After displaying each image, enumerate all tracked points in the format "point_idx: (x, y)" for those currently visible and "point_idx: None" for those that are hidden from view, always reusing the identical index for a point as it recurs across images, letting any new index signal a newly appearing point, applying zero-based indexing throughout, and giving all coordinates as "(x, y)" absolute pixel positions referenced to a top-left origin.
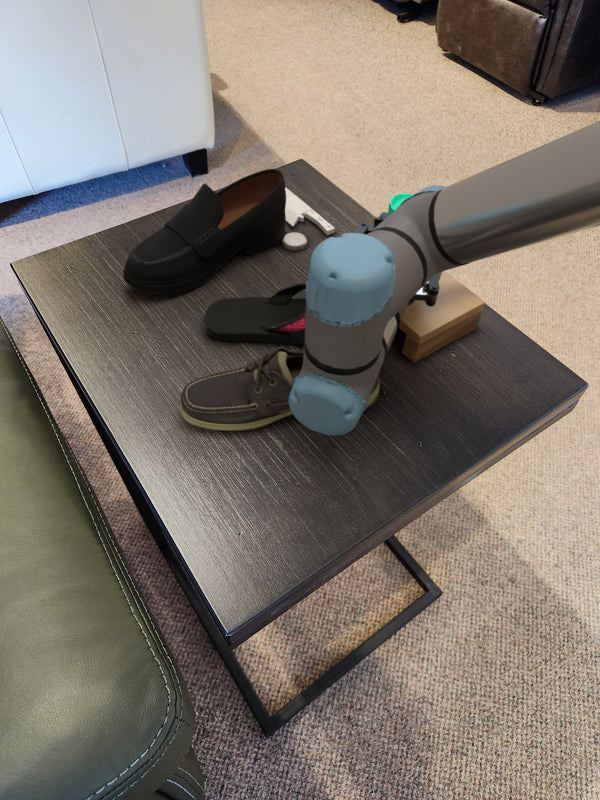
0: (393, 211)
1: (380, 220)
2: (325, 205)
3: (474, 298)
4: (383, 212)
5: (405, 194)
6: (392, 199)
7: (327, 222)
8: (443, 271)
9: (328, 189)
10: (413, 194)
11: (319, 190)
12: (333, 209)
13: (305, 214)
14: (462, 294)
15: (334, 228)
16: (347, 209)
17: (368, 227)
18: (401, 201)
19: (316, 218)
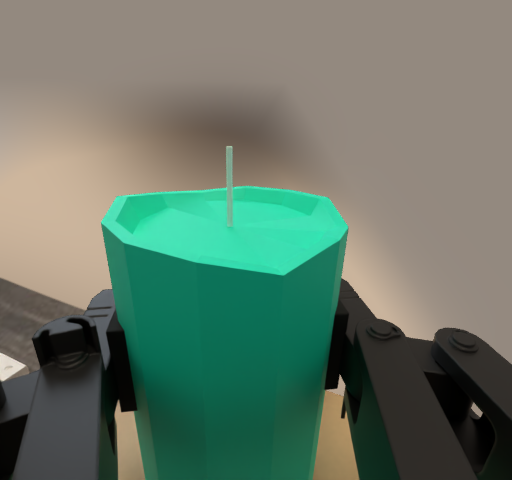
0: (135, 253)
1: (74, 333)
2: (16, 322)
3: None
4: (104, 291)
5: (173, 193)
6: (116, 208)
7: (7, 358)
8: (340, 399)
9: (27, 293)
10: (204, 190)
11: (8, 299)
12: (33, 324)
13: None
14: None
15: (24, 367)
16: (64, 315)
17: (10, 396)
18: (166, 216)
19: None
